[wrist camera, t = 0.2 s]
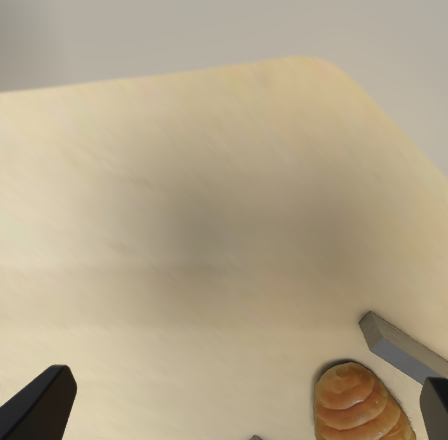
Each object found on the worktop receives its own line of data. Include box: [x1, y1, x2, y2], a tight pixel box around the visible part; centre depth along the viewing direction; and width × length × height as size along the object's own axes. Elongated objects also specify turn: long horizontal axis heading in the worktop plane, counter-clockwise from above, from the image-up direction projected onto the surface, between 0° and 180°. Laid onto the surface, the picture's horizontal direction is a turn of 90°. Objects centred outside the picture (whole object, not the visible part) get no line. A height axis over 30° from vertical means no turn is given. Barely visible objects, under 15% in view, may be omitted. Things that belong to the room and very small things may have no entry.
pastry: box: [314, 362, 416, 440], centre depth 25 cm, size 9×7×4 cm
